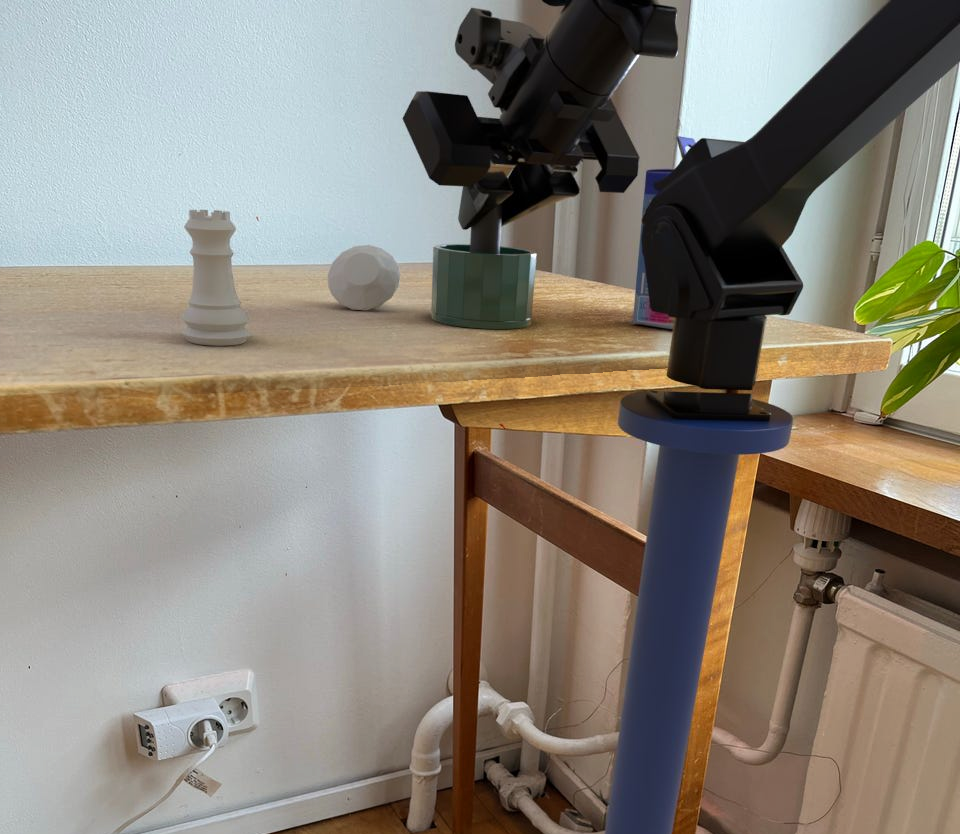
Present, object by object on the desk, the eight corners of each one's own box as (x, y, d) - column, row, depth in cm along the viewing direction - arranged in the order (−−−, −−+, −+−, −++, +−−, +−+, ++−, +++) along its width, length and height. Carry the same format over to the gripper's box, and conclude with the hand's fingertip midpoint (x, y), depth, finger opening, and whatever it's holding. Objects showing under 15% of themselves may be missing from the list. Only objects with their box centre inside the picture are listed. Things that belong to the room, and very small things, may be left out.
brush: (499, 318, 78) (510, 135, 72) (447, 313, 79) (453, 132, 73) (515, 312, 82) (526, 137, 76) (465, 307, 83) (472, 134, 77)
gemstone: (403, 268, 87) (395, 232, 82) (407, 330, 85) (400, 298, 80) (334, 275, 87) (323, 240, 82) (337, 337, 86) (326, 305, 81)
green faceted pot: (540, 330, 78) (546, 256, 75) (436, 327, 76) (439, 251, 74) (521, 314, 85) (526, 246, 82) (426, 311, 83) (428, 242, 81)
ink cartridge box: (670, 313, 91) (694, 139, 85) (727, 321, 89) (756, 142, 82) (625, 324, 83) (648, 133, 77) (686, 332, 81) (715, 136, 74)
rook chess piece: (264, 340, 67) (259, 213, 63) (222, 349, 63) (215, 214, 60) (211, 332, 68) (204, 207, 65) (168, 340, 65) (157, 209, 61)
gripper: (632, -12, 72) (526, 149, 85) (422, -56, 62) (337, 136, 75) (695, 109, 70) (578, 256, 83) (489, 85, 60) (390, 258, 73)
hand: (475, 225), depth 78 cm, fingers closed on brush, 2 cm apart
